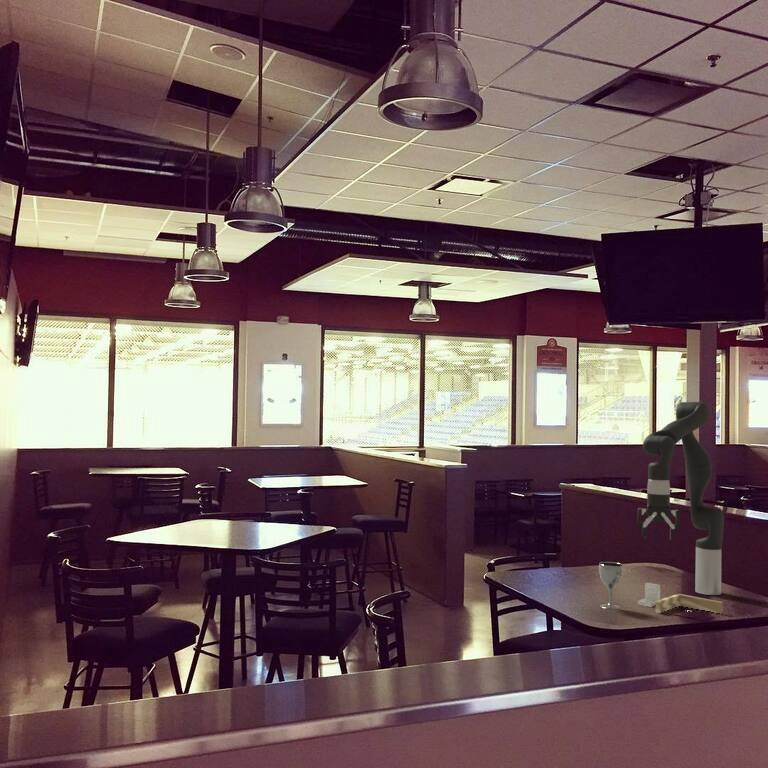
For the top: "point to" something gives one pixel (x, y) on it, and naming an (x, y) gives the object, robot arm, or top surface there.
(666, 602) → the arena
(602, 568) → the wine glass
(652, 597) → the bracket
